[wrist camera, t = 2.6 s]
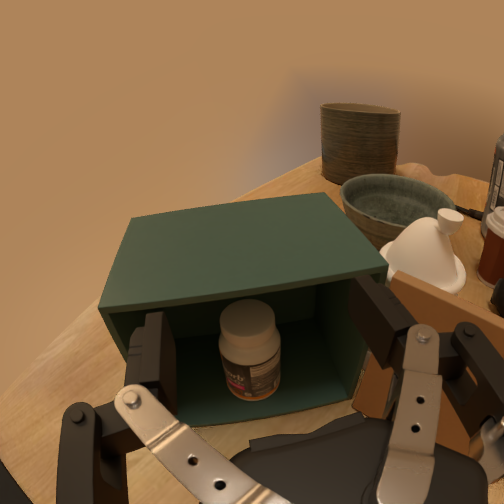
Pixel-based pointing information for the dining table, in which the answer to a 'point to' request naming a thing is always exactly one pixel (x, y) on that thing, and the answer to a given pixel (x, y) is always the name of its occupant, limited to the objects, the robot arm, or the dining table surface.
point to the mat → (10, 489)
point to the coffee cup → (493, 250)
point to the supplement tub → (495, 184)
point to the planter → (358, 140)
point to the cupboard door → (442, 320)
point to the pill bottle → (250, 349)
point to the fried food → (499, 296)
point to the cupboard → (247, 297)
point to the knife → (472, 212)
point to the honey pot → (427, 254)
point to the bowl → (389, 204)
